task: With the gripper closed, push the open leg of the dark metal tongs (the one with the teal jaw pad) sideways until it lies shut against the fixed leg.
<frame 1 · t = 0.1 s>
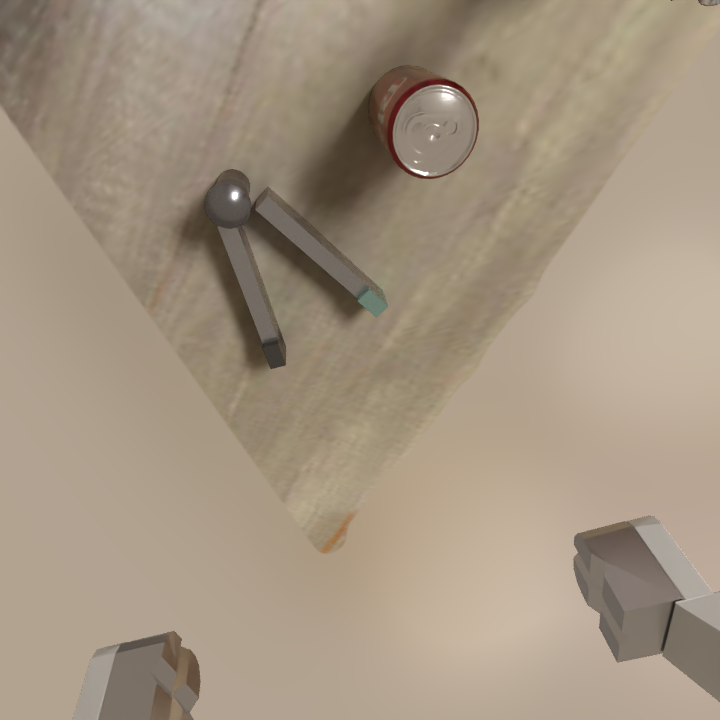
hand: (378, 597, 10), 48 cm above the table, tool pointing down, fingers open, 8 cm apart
tongs base: (233, 186, 52), on the table
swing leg: (324, 255, 55), point 2 cm above the table, hinge at 32.0°
soda can: (404, 107, 50), on the table
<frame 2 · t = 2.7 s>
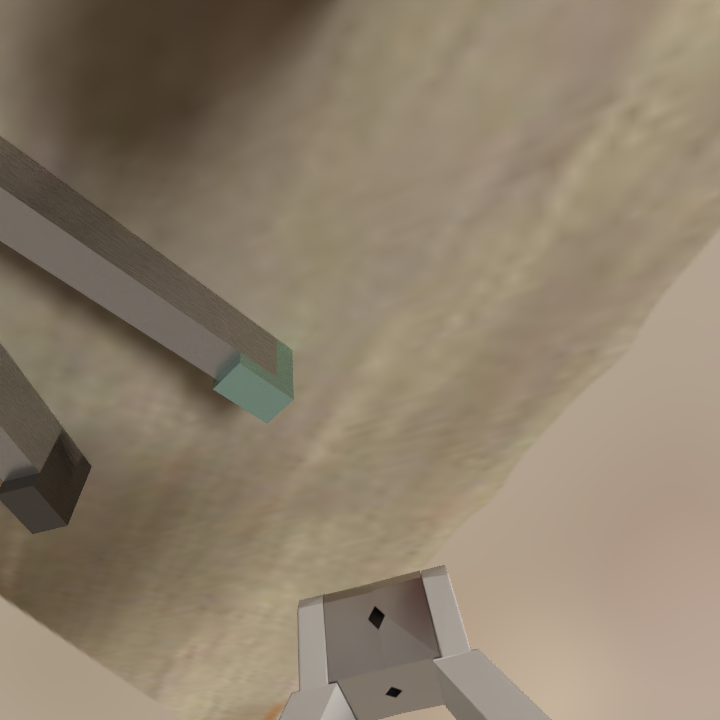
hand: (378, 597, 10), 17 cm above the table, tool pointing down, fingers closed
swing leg: (119, 275, 21), point 2 cm above the table, hinge at 32.0°
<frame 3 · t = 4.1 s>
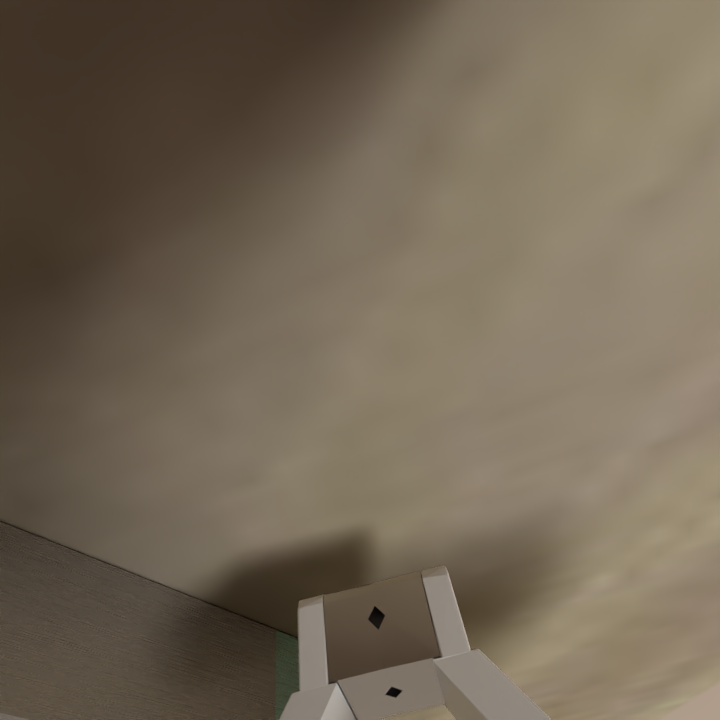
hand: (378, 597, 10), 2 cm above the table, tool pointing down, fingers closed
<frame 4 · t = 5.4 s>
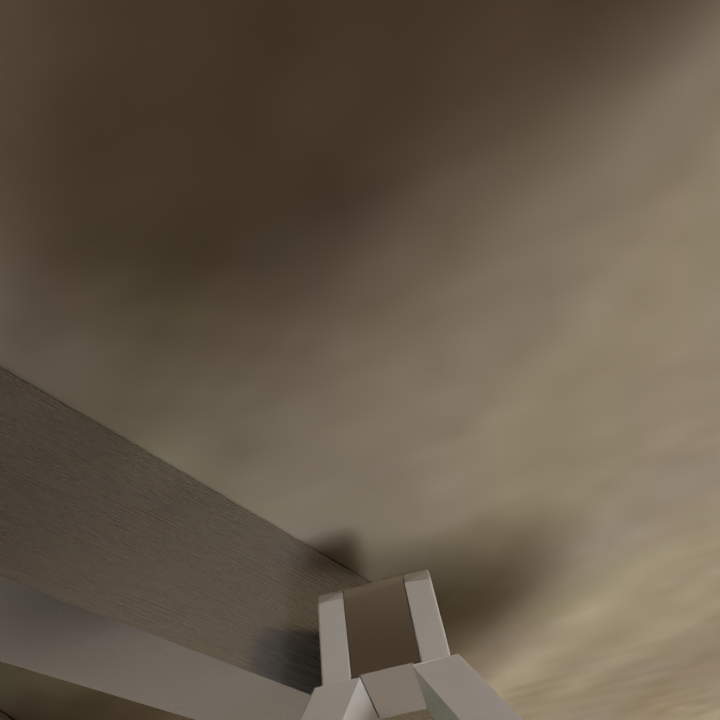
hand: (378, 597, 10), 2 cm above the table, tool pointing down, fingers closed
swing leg: (136, 590, 9), point 2 cm above the table, hinge at 29.9°, touching gripper
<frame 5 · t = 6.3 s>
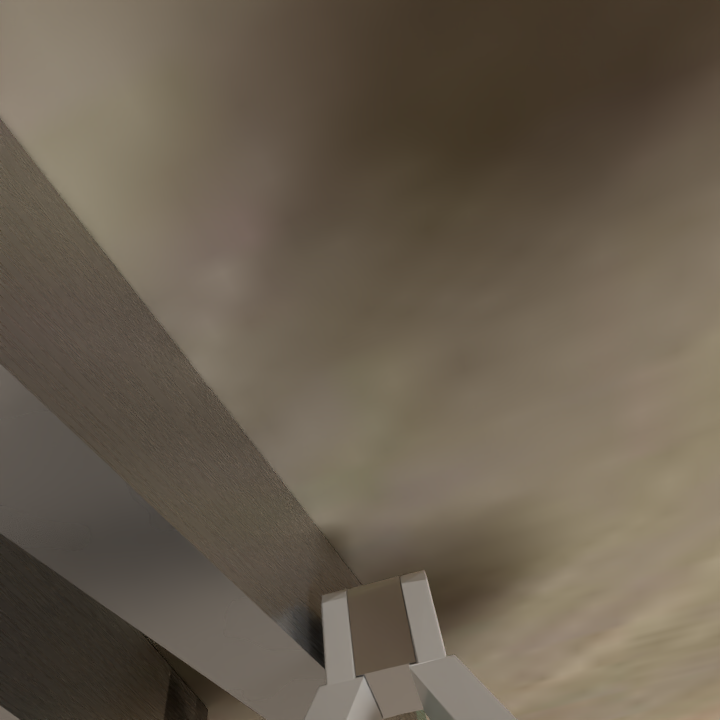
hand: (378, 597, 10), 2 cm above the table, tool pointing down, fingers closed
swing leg: (245, 587, 10), point 2 cm above the table, hinge at 11.9°, touching gripper
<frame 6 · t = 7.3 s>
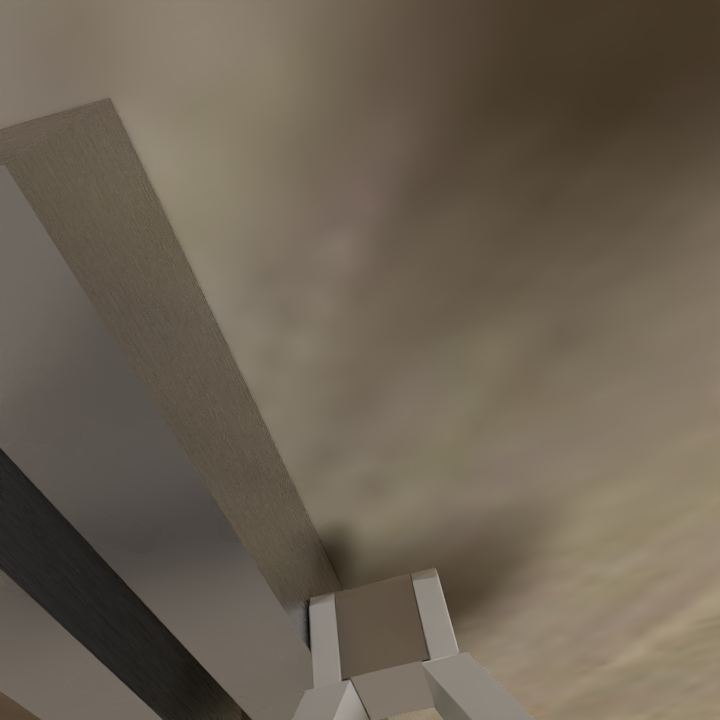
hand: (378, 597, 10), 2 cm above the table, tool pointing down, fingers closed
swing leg: (261, 597, 10), point 2 cm above the table, hinge at 2.1°, touching gripper
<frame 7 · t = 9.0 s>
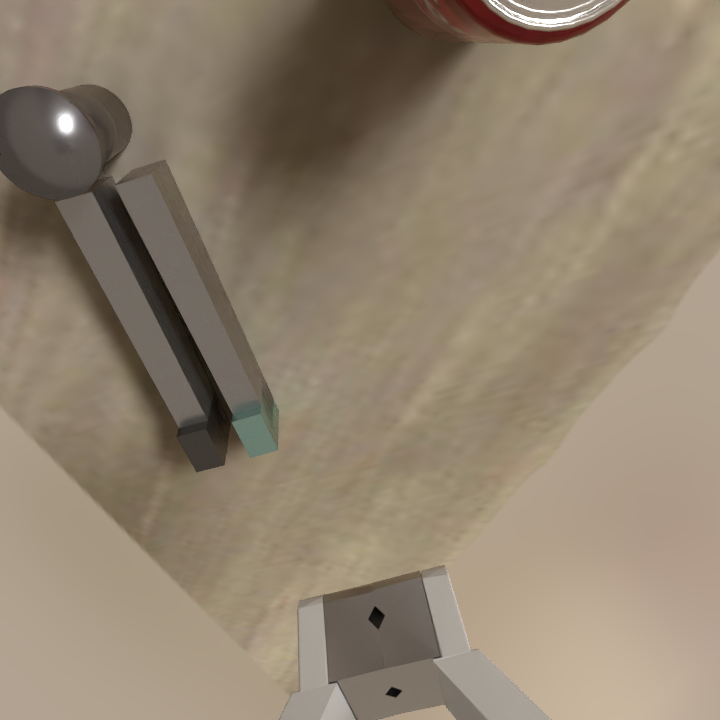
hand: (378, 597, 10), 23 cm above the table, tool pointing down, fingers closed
tongs base: (96, 121, 25), on the table
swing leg: (211, 323, 30), point 2 cm above the table, hinge at 2.0°
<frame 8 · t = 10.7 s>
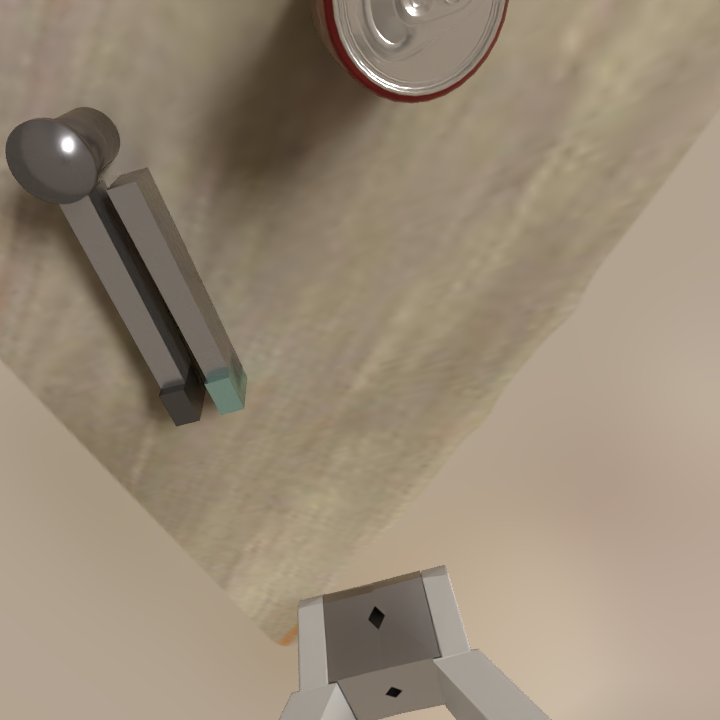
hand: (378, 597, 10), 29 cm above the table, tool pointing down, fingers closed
tongs base: (91, 136, 31), on the table
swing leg: (187, 302, 36), point 2 cm above the table, hinge at 2.0°
soda can: (373, 0, 29), on the table
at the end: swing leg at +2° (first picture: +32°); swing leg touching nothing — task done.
